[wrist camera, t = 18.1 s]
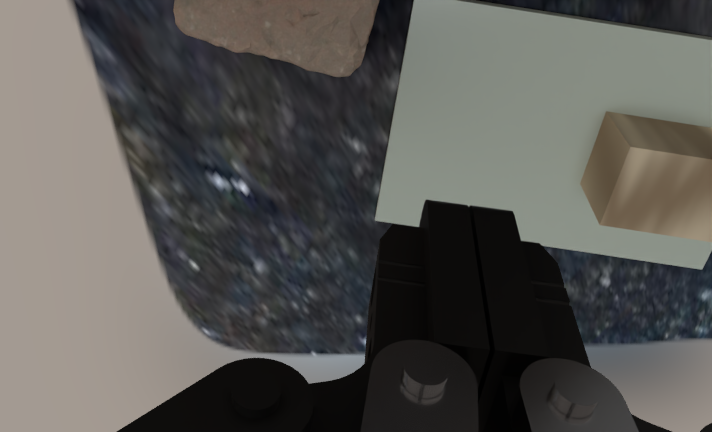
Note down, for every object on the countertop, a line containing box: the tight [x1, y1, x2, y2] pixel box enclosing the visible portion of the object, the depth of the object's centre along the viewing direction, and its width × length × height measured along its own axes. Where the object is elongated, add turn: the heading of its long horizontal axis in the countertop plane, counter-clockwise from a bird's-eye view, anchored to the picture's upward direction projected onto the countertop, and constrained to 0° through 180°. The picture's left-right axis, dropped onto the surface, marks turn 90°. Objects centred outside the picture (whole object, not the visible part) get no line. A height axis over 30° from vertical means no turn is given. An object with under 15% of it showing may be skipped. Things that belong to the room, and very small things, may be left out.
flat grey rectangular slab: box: [375, 0, 712, 270], centre depth 33 cm, size 12×18×1 cm, turn 82°
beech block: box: [580, 111, 712, 242], centre depth 31 cm, size 4×4×10 cm
